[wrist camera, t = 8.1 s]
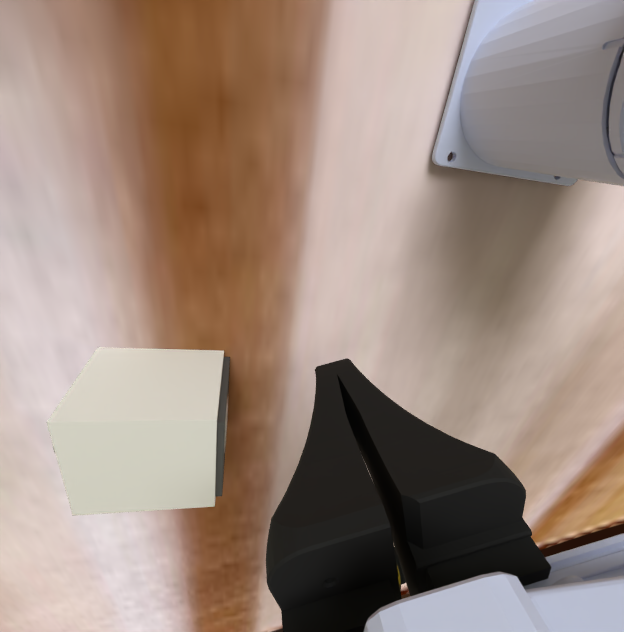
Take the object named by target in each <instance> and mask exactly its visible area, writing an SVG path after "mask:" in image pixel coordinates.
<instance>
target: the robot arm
mask: <svg viewBox="0 0 624 632" xmlns="http://www.w3.org/2000/svg"><path fill="white" fill-rule="evenodd" d="M451 152H452V154H453V158H452V160H451V161H449V162H448V160H447V158H448V155H449V154H450V153H451ZM432 160H433V162H434V164H436V165H439V166H445V167H451V168H457V169H464V170H470V171H476V172H483V173H489V174H495V175H501V176H508V177H514V178H520V179H527V180H533V181H539V182H546V183H552V184H558V185H564V186H571V185H573V184H574V183H575V182H576V181H577V180H578V179H580V180H586V181H593V182H599V183H606V184H613V185H619V186H624V0H475V2H474V5H473V9H472V12H471V16H470V20H469V23H468V27H467V31H466V34H465V38H464V41H463V45H462V49H461V52H460V56H459V60H458V63H457V67H456V70H455V74H454V78H453V81H452V85H451V88H450V92H449V96H448V99H447V103H446V107H445V110H444V114H443V117H442V121H441V125H440V128H439V132H438V136H437V139H436V143H435V146H434V150H433V154H432ZM554 176H556V177H555V178H554ZM315 373H316V394H315V403H314V410H313V415H312V420H311V425H310V429H309V433H308V437H307V440H306V443H305V447H304V450H303V452H302V455H301V458H300V461H299V464H298V466H297V469H296V471H295V473H294V475H293V478H292V480H291V482H290V484H289V487H288V489H287V491H286V493H285V495H284V497H283V499H282V500H281V502H280V504H279V506H278V508H277V510H276V511H275V513H274V515H273V517H272V519H271V524H270V529H269V535H268V542H267V553H266V572H267V584H268V587H269V590H270V592H271V593H272V595H273V597H274V598H275V600H276V602H277V603H278V605H279V607H280V608H281V611H282V625H283V632H624V533H623V534H620V535H617V536H614V537H610V538H607V539H604V540H601V541H598V542H594V543H591V544H587V545H584V546H581V547H578V548H575V549H571V550H568V551H565V552H561V553H558V554H555V555H551V556H548V557H544V555H543V554H542V553H541V551H540V550H539V548H538V547H537V545H536V544H535V542H534V541H533V540H532V538H531V537H530V536H532V532H531V529H530V528H529V527H528V525H527V524H526V522H525V521H524V520H523V518H522V515H523V510H524V504H525V499H526V490H525V488H524V487H523V485H522V483H521V482H520V481H519V479H518V478H517V477H516V476H515V474H514V473H513V472H512V471H511V470H510V469H509V468H508V467H507V466H506V465H505V464H504V463H503V462H502V461H501V460H500V459H499V458H498V457H497V456H496V455H495V454H494V453H491V452H488V451H486V450H483V449H480V448H478V447H475V446H472V445H470V444H467V443H465V442H462V441H460V440H458V439H456V438H454V437H451V436H449V435H447V434H446V433H444V432H442V431H440V430H438V429H436V428H434V427H432V426H430V425H428V424H427V423H425V422H423V421H422V420H420V419H418V418H417V417H415V416H414V415H412V414H411V413H409V412H407V411H406V410H404V409H403V408H402V407H400V406H399V405H398V404H396V403H395V402H394V401H392V400H391V399H390V398H388V397H387V396H386V395H385V394H384V393H382V392H381V391H380V390H379V389H378V388H377V387H376V386H374V385H373V384H372V383H371V382H370V381H369V380H368V379H367V378H366V377H365V376H364V375H363V374H362V373H361V372H360V371H359V370H358V369H357V368H356V367H355V365H354V364H353V363H352V362H351V360H349V359H343V360H339V361H336V362H332V363H328V364H325V365H321V366H317V367H316V369H315ZM361 454H362V455H361ZM363 459H364V460H363ZM364 461H365V462H364ZM365 463H366V465H365ZM366 466H367V467H366ZM367 468H368V470H369V472H368V470H367ZM369 473H370V474H369ZM370 475H371V477H370ZM371 478H372V479H371ZM372 480H373V481H372ZM373 483H374V484H373ZM393 543H394V545H393ZM394 546H395V549H396V552H397V555H398V558H399V561H400V564H401V567H402V571H403V574H404V577H405V580H406V583H407V586H408V589H409V593H410V596H411V597H408V598H405V599H401V592H400V586H399V580H398V576H399V575H398V569H397V563H396V557H395V551H394Z"/></svg>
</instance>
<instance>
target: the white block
mask: <svg viewBox="0 0 624 632" xmlns="http://www.w3.org/2000/svg"><path fill="white" fill-rule="evenodd" d="M229 365H230V357H224V351H217V350H181V349H145V348H109V347H98V348H97V349H96V351H95V352H94V354H93V355H92V357H91V358H90V360H89V361H88V362H87V364H86V365H85V367H84V368H83V370H82V371H81V373H80V374H79V376H78V377H77V379H76V380H75V382H74V383H73V384H72V386H71V387H70V389H69V390H68V392H67V393H66V395H65V396H64V398H63V399H62V401H61V402H60V404H59V405H58V406H57V408H56V409H55V411H54V412H53V414H52V415H51V417H50V418H49V420H48V421H47V425H48V429H49V432H50V436H51V439H52V443H53V447H54V450H55V454H56V457H57V461H58V464H59V468H60V472H61V475H62V479H63V482H64V486H65V490H66V493H67V497H68V500H69V504H70V508H71V511H72V515H73V516H75V515H90V514H106V513H121V512H137V511H152V510H167V509H183V508H198V507H214V506H215V497H216V496H222V490H223V475H224V460H225V453H224V443H225V420H226V406H227V394H228V389H229Z"/></svg>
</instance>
